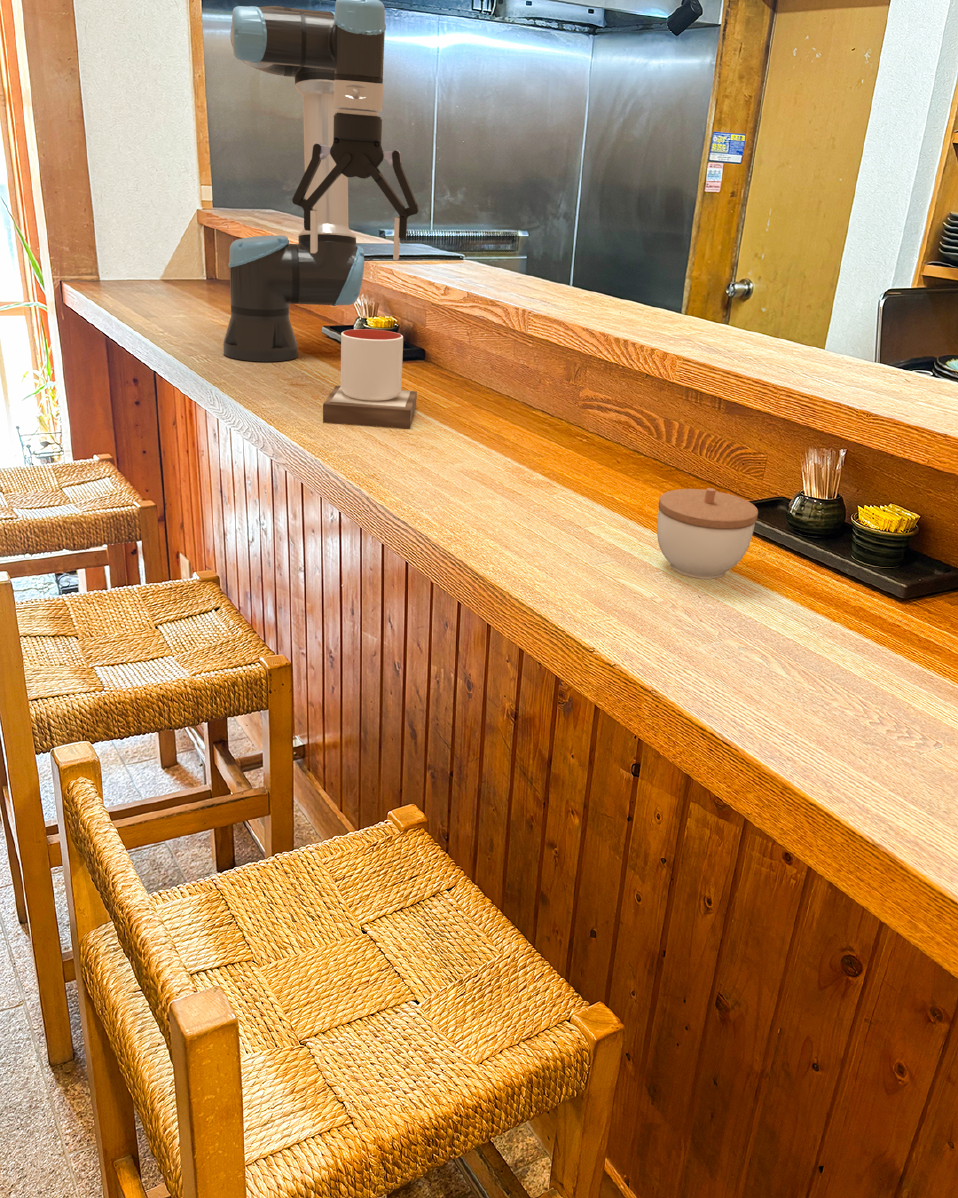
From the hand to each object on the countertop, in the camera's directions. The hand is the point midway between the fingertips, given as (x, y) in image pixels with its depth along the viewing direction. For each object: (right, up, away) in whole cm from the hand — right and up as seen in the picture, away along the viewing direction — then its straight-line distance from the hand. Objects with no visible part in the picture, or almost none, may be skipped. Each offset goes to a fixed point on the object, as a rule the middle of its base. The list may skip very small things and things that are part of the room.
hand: (355, 255), depth 162 cm
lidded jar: (+45, -54, -51) cm, 87 cm away
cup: (+3, -23, +1) cm, 23 cm away
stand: (+3, -26, +2) cm, 26 cm away
